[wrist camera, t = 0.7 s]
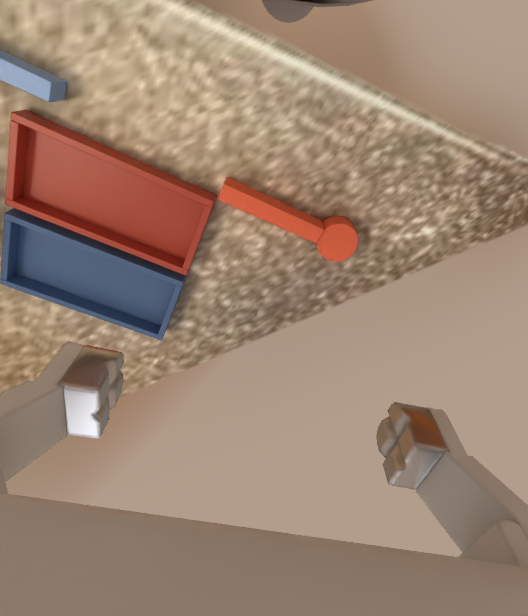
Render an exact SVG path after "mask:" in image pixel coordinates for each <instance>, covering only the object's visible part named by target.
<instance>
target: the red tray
mask: <svg viewBox="0 0 528 616" xmlns="http://www.w3.org/2000/svg"><path fill="white" fill-rule="evenodd" d="M216 197H217V195H215V194H213V193H210V192H208V191H206V190H204V189H202V188H199V187H197V186H195V185H193V184H190V183H188V182H186V181H184V180H181V179H179V178H177V177H175V176H172V175H170V174H168V173H166V172H164V171H161V170H159V169H157V168H155V167H152V166H150V165H148V164H146V163H143V162H141V161H139V160H137V159H135V158H132V157H130V156H128V155H126V154H123V153H121V152H119V151H117V150H114V149H112V148H110V147H108V146H105V145H103V144H101V143H99V142H97V141H94V140H92V139H90V138H88V137H85V136H83V135H81V134H79V133H76V132H74V131H72V130H70V129H67V128H65V127H63V126H61V125H59V124H56V123H54V122H52V121H50V120H47V119H45V118H43V117H41V116H38V115H36V114H34V113H32V112H30V111H27V110H21V111H15V112H11V125H10V140H9V156H8V171H7V186H6V200H5V204H6V205H8V206H11V207H13V208H16V209H18V210H21V211H23V212H26V213H28V214H31V215H33V216H36V217H39V218H41V219H44V220H46V221H49V222H51V223H54V224H56V225H59V226H61V227H64V228H67V229H69V230H72V231H74V232H77V233H79V234H82V235H84V236H87V237H89V238H92V239H94V240H97V241H100V242H102V243H105V244H107V245H110V246H112V247H115V248H117V249H120V250H122V251H125V252H128V253H130V254H133V255H135V256H138V257H140V258H143V259H145V260H148V261H150V262H153V263H156V264H158V265H161V266H163V267H166V268H168V269H171V270H173V271H176V272H178V273H181V274H183V275H187V273H188V271H189V268H190V266H191V263H192V261H193V258H194V255H195V253H196V250H197V247H198V245H199V242H200V240H201V237H202V234H203V232H204V229H205V226H206V224H207V221H208V218H209V216H210V213H211V211H212V208H213V205H214V203H215V200H216Z"/></svg>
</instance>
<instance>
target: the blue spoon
mask: <svg viewBox="0 0 528 616" xmlns="http://www.w3.org/2000/svg"><path fill="white" fill-rule="evenodd" d="M0 80H1V81H4V82H6V83H8V84H10V85H12V86H15V87H17V88H19V89H21V90H23V91H26V92H28V93H30V94H32V95H34V96H36V97H39V98H41V99H43V100H45V101H47V102H54V101H61V100H65V94H66V86H67V81H66V80H64V79H61V78H59V77H57V76H55V75H53V74H51V73H49V72H47V71H44V70H42V69H40V68H38V67H36V66H34V65H32V64H30V63H28V62H25V61H23V60H21V59H19V58H17V57H15V56H13V55H11V54H9V53H6V52H4V51H2V50H0Z"/></svg>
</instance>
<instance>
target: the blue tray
mask: <svg viewBox="0 0 528 616" xmlns="http://www.w3.org/2000/svg"><path fill="white" fill-rule="evenodd" d="M186 276H187V275H183V274H181V273H178V272H176V271H173V270H171V269H168V268H166V267H163V266H161V265H158V264H156V263H153V262H150V261H148V260H145V259H143V258H140V257H138V256H135V255H133V254H130V253H128V252H125V251H122V250H120V249H117V248H115V247H112V246H110V245H107V244H105V243H102V242H100V241H97V240H94V239H92V238H89V237H87V236H84V235H82V234H79V233H77V232H74V231H72V230H69V229H67V228H64V227H61V226H59V225H56V224H54V223H51V222H49V221H46V220H44V219H41V218H39V217H36V216H33V215H31V214H28V213H26V212H23V211H21V210H18V209H16V208H13V209H11V210H10V211H8V212H6V213H5V215H4V231H3V246H2V262H1V277H0V278H1V279H0V284H2V285H5V286H8V287H11V288H14V289H16V290H19V291H22V292H25V293H28V294H31V295H34V296H36V297H39V298H42V299H45V300H48V301H51V302H53V303H56V304H59V305H62V306H65V307H68V308H71V309H73V310H76V311H79V312H82V313H85V314H88V315H91V316H93V317H96V318H99V319H102V320H105V321H108V322H110V323H113V324H116V325H119V326H122V327H125V328H128V329H130V330H133V331H136V332H139V333H142V334H145V335H148V336H150V337H153V338H156V339H159V340H162V339H163V336H164V334H165V332H166V329H167V326H168V324H169V321H170V319H171V316H172V313H173V311H174V308H175V305H176V303H177V300H178V297H179V295H180V292H181V290H182V287H183V284H184V282H185V279H186Z"/></svg>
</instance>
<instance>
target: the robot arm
mask: <svg viewBox="0 0 528 616" xmlns="http://www.w3.org/2000/svg"><path fill="white" fill-rule="evenodd" d="M123 363H124V354H123V353H122V352H117V351H113V350H108V349H103V348H98V347H93V346H88V345H87V346H86V345H81V344H77V343H72V342H67V343H66V344H64V345H63V346H62V347H61V349H60V350H59V351H58V352H57V354H56V355H55V356H54V357H53V359H52V360H51V361H50V363H49V364H48V365H47V366H46V368H45V369H44V370H43V371H42V373H41V374H40V375H39V377H38V378H37V379H36V380H35V381H27V382H25V383H23V384H20V385H18V386H16V387H14V388H12V389H9V390H7V391H5V392H3V393H1V394H0V616H528V505H527V504H526V503H524V502H523V501H522V500H521V499H520V498H519V497H518V496H517V495H515V494H514V493H513V492H512V491H511V490H510V489H509V488H507V487H506V486H505V485H504V484H503V483H502V482H501V481H500V480H499V479H497V478H496V477H495V476H494V475H493V474H492V473H491V472H490V471H488V470H487V469H486V468H485V467H484V466H483V465H482V464H480V463H479V462H478V461H477V460H476V459H475V458H474V457H473V456H468V455H467V453H466V451H465V450H464V448H463V446H462V444H461V442H460V440H459V438H458V436H457V434H456V432H455V430H454V428H453V426H452V424H451V422H450V420H449V419H448V417H447V415H446V413H445V412H444V411H443V410H439V409H433V408H425V407H420V406H414V405H408V404H403V403H396V402H395V403H393V404H392V405H391V406H390V408H389V409H388V413H389V417H387V418H385V419H384V420H382V422H381V423H380V425H379V427H378V431H377V445H378V449H379V451H380V453H381V454H382V455H383V456H384V457H385V458H386V459H385V461H384V463H383V467H384V470H385V474H386V477H387V481H388V484H389V485H394V486H399V487H404V488H410V489H414V490H416V493H417V494H418V495H419V496H420V498H421V499H422V500H423V502H424V503H425V504H426V506H427V507H428V508H429V509H430V511H431V512H432V513H433V515H434V516H435V517H436V519H437V520H438V521H439V523H440V524H441V525H442V526H443V528H444V529H445V530H446V532H447V533H448V534H449V536H450V537H451V538H452V539H453V541H454V542H455V543H456V545H457V546H458V547H459V549H460V550H461V551H462V554H461V555H460V556H459V557H452V556H445V555H438V554H431V553H424V552H417V551H410V550H403V549H396V548H389V547H381V546H374V545H366V544H360V543H353V542H346V541H338V540H331V539H323V538H317V537H310V536H302V535H295V534H288V533H281V532H273V531H266V530H260V529H252V528H246V527H238V526H232V525H224V524H218V523H210V522H203V521H196V520H189V519H182V518H175V517H168V516H160V515H153V514H147V513H139V512H132V511H125V510H118V509H111V508H104V507H97V506H90V505H83V504H76V503H68V502H61V501H53V500H47V499H40V498H33V497H26V496H18V495H12V494H8V491H7V487H6V483H5V482H6V481H7V480H9V479H10V478H11V477H13V476H14V475H15V474H17V473H18V472H19V471H21V470H22V469H23V468H25V467H26V466H27V465H29V464H30V463H32V462H33V461H34V460H36V459H37V458H38V457H40V456H41V455H42V454H44V453H45V452H46V451H48V450H49V449H51V448H52V447H53V446H54V445H56V444H57V443H59V442H60V441H61V440H63V439H64V438H65V437H67V435H75V436H82V437H90V438H100V437H101V435H102V433H103V431H104V429H105V427H106V425H107V423H108V420H109V410H111V409H112V408H114V407H115V406H116V404H117V401H118V399H119V396H120V393H121V390H122V385H123V374H122V372H121V371H120V369H121V367H122V365H123Z"/></svg>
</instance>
